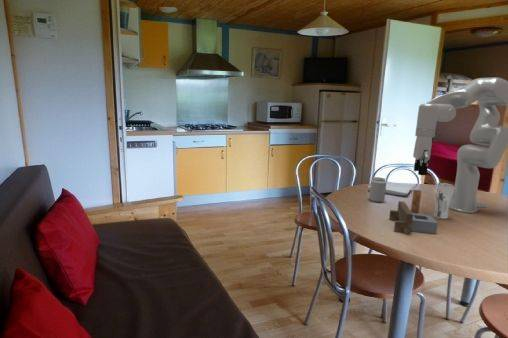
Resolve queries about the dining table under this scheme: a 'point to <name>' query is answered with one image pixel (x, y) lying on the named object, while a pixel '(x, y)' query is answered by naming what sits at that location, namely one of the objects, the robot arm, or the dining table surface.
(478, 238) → the dining table surface
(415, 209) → the dowel
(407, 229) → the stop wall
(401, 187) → the salad plate
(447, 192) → the beer glass
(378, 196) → the can
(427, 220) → the hole block
